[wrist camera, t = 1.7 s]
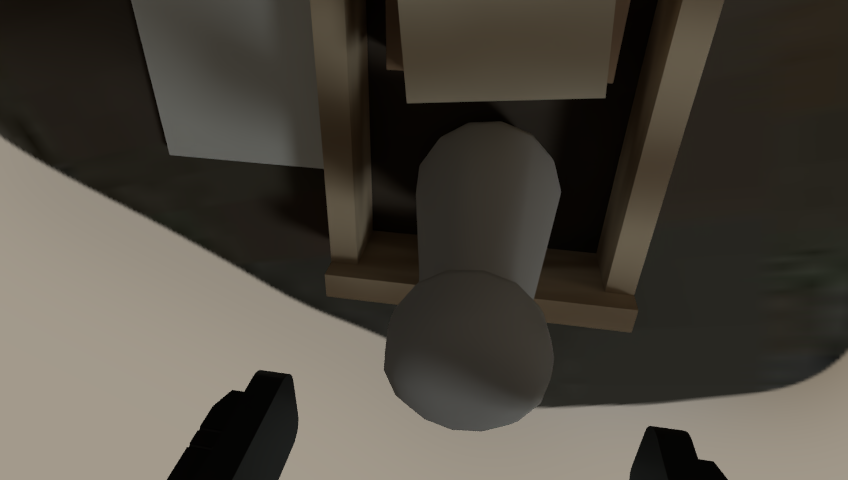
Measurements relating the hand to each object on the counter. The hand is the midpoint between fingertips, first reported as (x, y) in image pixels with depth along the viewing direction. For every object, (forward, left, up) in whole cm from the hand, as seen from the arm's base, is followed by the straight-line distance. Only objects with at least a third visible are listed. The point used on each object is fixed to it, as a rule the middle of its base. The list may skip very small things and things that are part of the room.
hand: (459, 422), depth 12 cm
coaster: (-4, -11, -14) cm, 18 cm away
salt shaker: (0, 0, -14) cm, 14 cm away
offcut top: (-7, 0, -11) cm, 13 cm away
